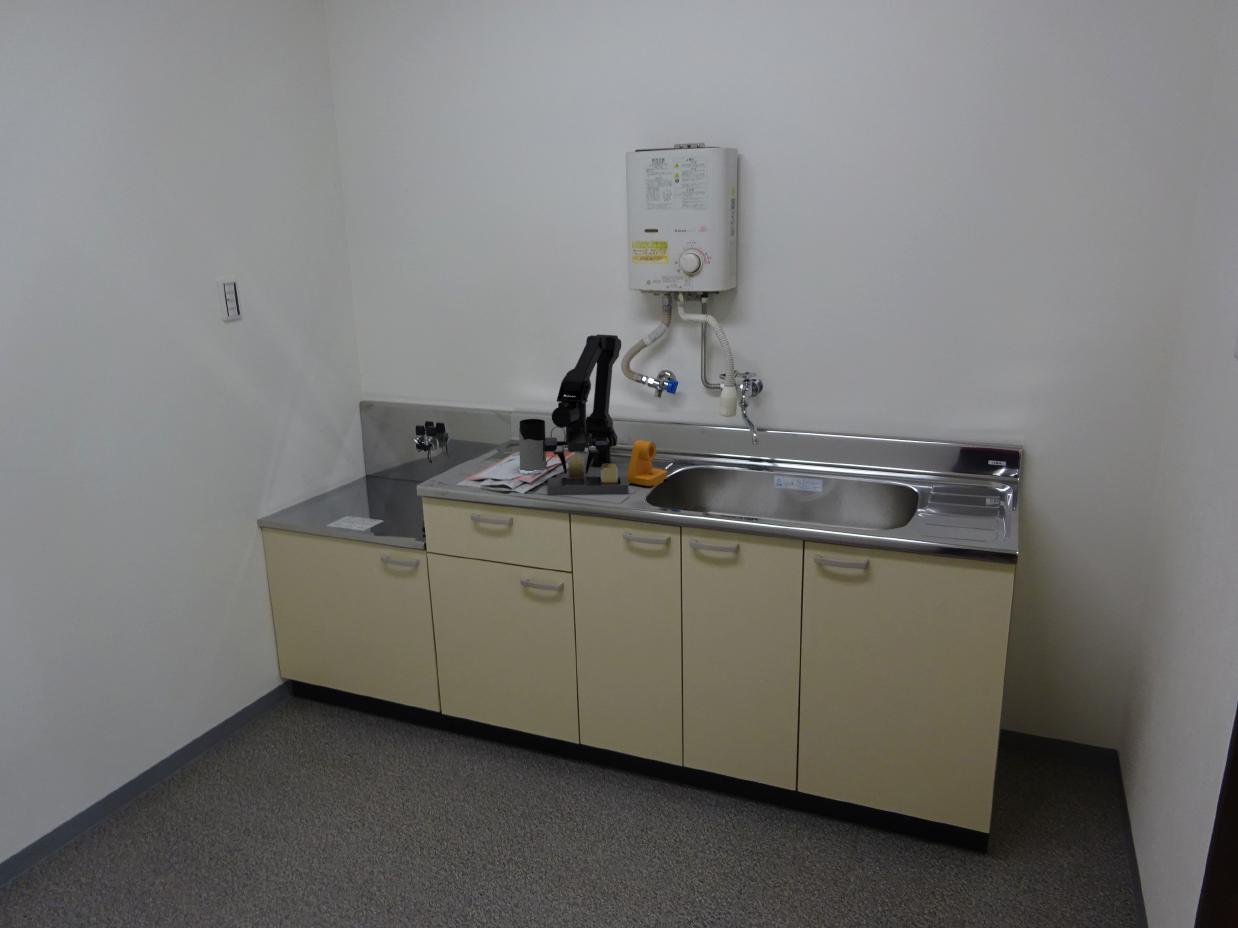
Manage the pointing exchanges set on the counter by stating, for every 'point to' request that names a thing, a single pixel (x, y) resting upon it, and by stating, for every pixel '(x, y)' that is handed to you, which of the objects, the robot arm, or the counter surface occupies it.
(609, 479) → the tan-capped ribbed block
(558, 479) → the tray
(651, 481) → the bracket
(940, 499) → the counter surface
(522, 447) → the glass holder
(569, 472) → the gold metal block
